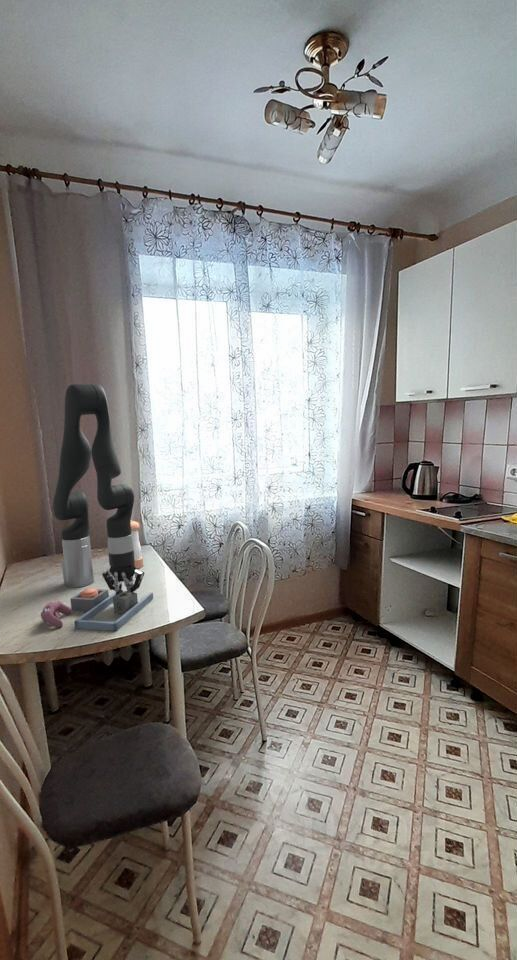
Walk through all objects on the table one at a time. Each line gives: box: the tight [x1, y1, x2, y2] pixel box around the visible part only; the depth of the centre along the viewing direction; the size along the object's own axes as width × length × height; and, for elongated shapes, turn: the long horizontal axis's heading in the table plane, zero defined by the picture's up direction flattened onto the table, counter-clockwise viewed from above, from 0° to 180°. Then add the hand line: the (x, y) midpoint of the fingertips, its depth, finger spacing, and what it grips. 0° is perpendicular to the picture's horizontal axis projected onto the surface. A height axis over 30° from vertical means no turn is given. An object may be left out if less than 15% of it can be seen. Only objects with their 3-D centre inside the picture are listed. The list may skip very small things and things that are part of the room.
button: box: [80, 587, 98, 598], centre depth 135 cm, size 5×5×3 cm
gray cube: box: [112, 590, 139, 616], centre depth 131 cm, size 5×5×5 cm
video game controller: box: [40, 599, 73, 629], centre depth 126 cm, size 10×5×7 cm, turn 6°
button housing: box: [70, 588, 110, 613], centre depth 135 cm, size 8×8×4 cm
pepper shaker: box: [130, 519, 144, 570], centre depth 171 cm, size 7×7×19 cm
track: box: [74, 591, 154, 632], centre depth 130 cm, size 13×22×2 cm, turn 167°
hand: (125, 602), depth 135 cm, fingers open, 2 cm apart
